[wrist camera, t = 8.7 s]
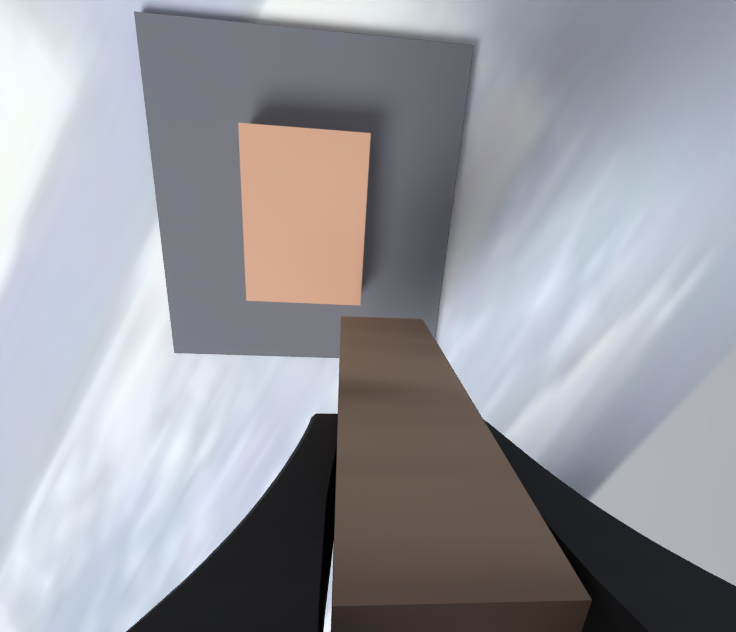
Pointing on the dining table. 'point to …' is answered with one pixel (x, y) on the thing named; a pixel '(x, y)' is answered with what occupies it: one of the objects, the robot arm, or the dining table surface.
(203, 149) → the mat
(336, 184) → the tile
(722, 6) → the dining table surface
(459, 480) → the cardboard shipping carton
